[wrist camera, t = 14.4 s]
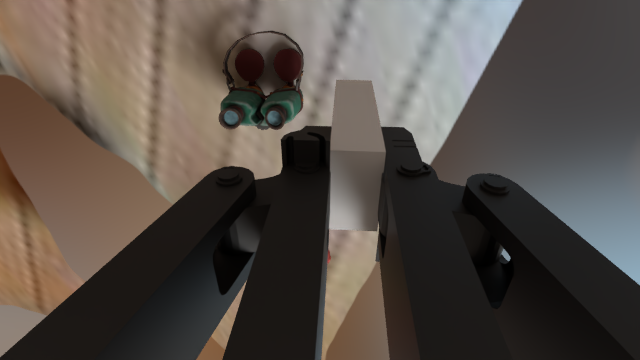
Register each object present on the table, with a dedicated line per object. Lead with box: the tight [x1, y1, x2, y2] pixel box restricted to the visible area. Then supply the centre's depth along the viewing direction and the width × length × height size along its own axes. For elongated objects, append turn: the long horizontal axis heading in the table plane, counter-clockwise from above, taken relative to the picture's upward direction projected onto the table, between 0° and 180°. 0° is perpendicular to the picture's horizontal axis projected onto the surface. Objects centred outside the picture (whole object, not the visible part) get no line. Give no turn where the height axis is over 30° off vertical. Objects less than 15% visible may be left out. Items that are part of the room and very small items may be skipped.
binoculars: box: [219, 31, 304, 130], centre depth 37 cm, size 9×11×10 cm
